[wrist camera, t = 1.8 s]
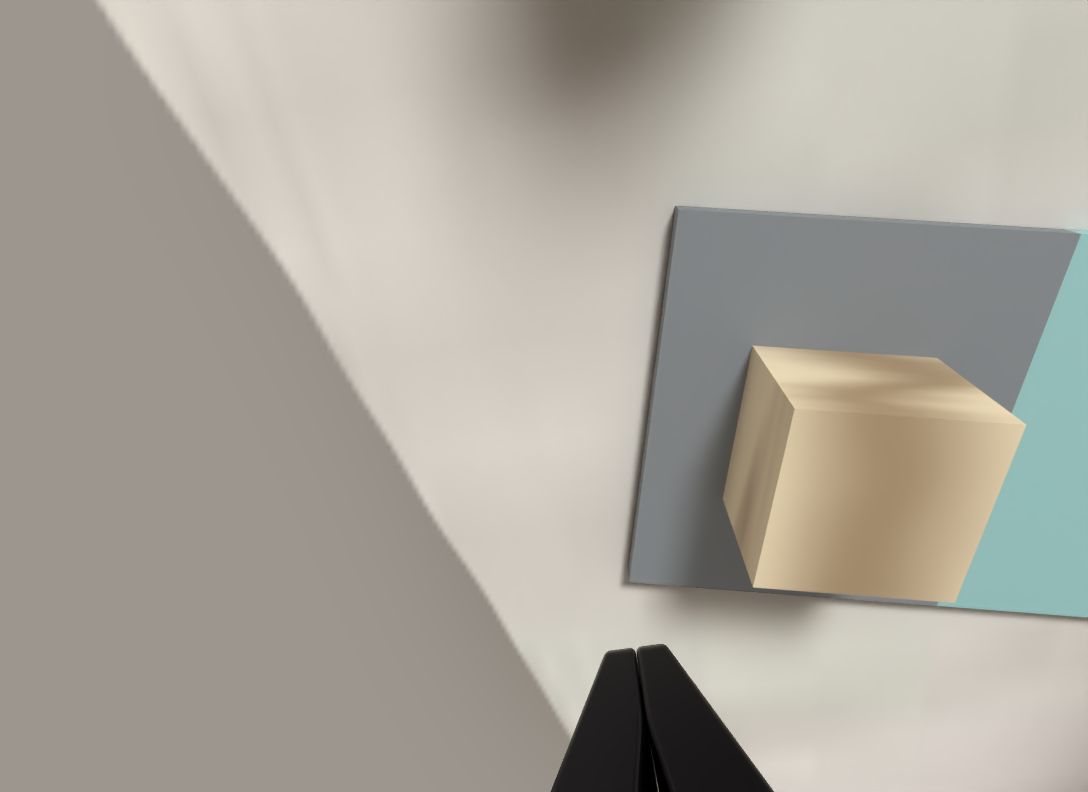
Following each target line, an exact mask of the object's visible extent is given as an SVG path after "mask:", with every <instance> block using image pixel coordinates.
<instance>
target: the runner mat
mask: <svg viewBox="0 0 1088 792" xmlns="http://www.w3.org/2000/svg"><path fill="white" fill-rule="evenodd" d="M752 346H765V347H780V348H795V349H810V350H825V351H840V352H855V353H870V354H885V355H900V356H915V357H930V358H938V359H939V360H941V361H942V362H943V363H945V364H946V365H947V366H949V367H950V368H951V369H953V370H954V371H955V372H957V373H958V374H959V375H961V376H962V377H963V378H965V379H966V380H967V381H969V382H970V383H971V384H973V385H974V386H975V387H977V388H978V389H979V390H981V391H982V392H983V393H985V394H986V395H987V396H989V397H990V398H991V399H993V400H994V401H995V402H997V403H998V404H999V405H1001V406H1002V407H1003V408H1005V409H1006V410H1007V411H1009V412H1010V413H1011V414H1013V415H1014V416H1015V417H1017V418H1018V419H1019V420H1021V421H1022V422H1024V423H1025V424H1026V428H1025V430H1024V432H1023V435H1022V437H1021V440H1020V442H1019V445H1018V447H1017V450H1016V452H1015V455H1014V457H1013V460H1012V462H1011V465H1010V467H1009V470H1008V472H1007V475H1006V477H1005V480H1004V482H1003V485H1002V487H1001V490H1000V492H999V495H998V497H997V500H996V502H995V505H994V507H993V510H992V512H991V514H990V517H989V519H988V522H987V524H986V527H985V529H984V532H983V534H982V537H981V539H980V542H979V544H978V547H977V549H976V552H975V554H974V557H973V559H972V562H971V564H970V567H969V569H968V572H967V574H966V577H965V579H964V582H963V584H962V587H961V589H960V592H959V594H958V596H957V599H956V601H955V603H948V602H935V601H922V600H909V599H896V598H884V597H871V596H858V595H845V594H832V593H819V592H806V591H793V590H780V589H767V588H754V587H753V586H752V583H751V580H750V577H749V574H748V571H747V569H746V566H745V563H744V560H743V557H742V554H741V551H740V548H739V545H738V542H737V539H736V536H735V533H734V530H733V527H732V525H731V522H730V519H729V516H728V513H727V510H726V507H725V504H724V501H723V494H724V489H725V484H726V479H727V474H728V469H729V464H730V459H731V453H732V448H733V443H734V438H735V433H736V428H737V423H738V418H739V412H740V407H741V402H742V397H743V392H744V387H745V382H746V377H747V371H748V366H749V361H750V356H751V351H752ZM628 575H629V582H632V583H644V584H657V585H670V586H683V587H696V588H709V589H722V590H735V591H747V592H760V593H773V594H786V595H799V596H812V597H825V598H838V599H850V600H863V601H876V602H889V603H902V604H915V605H928V606H946V607H959V608H972V609H984V610H997V611H1010V612H1023V613H1036V614H1049V615H1062V616H1075V617H1088V231H1082V230H1065V229H1049V228H1032V227H1016V226H999V225H983V224H966V223H950V222H933V221H917V220H900V219H884V218H867V217H850V216H834V215H817V214H801V213H784V212H768V211H751V210H735V209H718V208H702V207H685V206H676V207H675V215H674V222H673V230H672V238H671V245H670V253H669V261H668V268H667V276H666V284H665V291H664V299H663V307H662V314H661V322H660V330H659V337H658V345H657V353H656V360H655V368H654V375H653V383H652V391H651V398H650V406H649V414H648V421H647V429H646V437H645V444H644V452H643V460H642V467H641V475H640V483H639V490H638V498H637V506H636V513H635V521H634V529H633V536H632V544H631V552H630V559H629V567H628Z"/></svg>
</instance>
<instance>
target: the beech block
mask: <svg viewBox="0 0 1088 792" xmlns="http://www.w3.org/2000/svg"><path fill="white" fill-rule="evenodd" d="M1025 428H1026V424H1025V423H1024V422H1022V421H1021V420H1019V419H1018V418H1017V417H1015V416H1014V415H1013V414H1011V413H1010V412H1009V411H1007V410H1006V409H1005V408H1003V407H1002V406H1001V405H999V404H998V403H997V402H995V401H994V400H993V399H991V398H990V397H989V396H987V395H986V394H985V393H983V392H982V391H981V390H979V389H978V388H977V387H975V386H974V385H973V384H971V383H970V382H969V381H967V380H966V379H965V378H963V377H962V376H961V375H959V374H958V373H957V372H955V371H954V370H953V369H951V368H950V367H949V366H947V365H946V364H945V363H943V362H942V361H941V360H939V359H938V358H930V357H915V356H900V355H885V354H870V353H855V352H840V351H825V350H810V349H795V348H780V347H765V346H752V351H751V356H750V361H749V366H748V371H747V377H746V382H745V387H744V392H743V397H742V402H741V407H740V412H739V418H738V423H737V428H736V433H735V438H734V443H733V448H732V453H731V459H730V464H729V469H728V474H727V479H726V484H725V489H724V494H723V501H724V504H725V507H726V510H727V513H728V516H729V519H730V522H731V525H732V527H733V530H734V533H735V536H736V539H737V542H738V545H739V548H740V551H741V554H742V557H743V560H744V563H745V566H746V569H747V571H748V574H749V577H750V580H751V583H752V586H753V587H754V588H767V589H780V590H793V591H806V592H819V593H832V594H845V595H858V596H871V597H884V598H896V599H909V600H922V601H935V602H948V603H955V601H956V599H957V596H958V594H959V592H960V589H961V587H962V584H963V582H964V579H965V577H966V574H967V572H968V569H969V567H970V564H971V562H972V559H973V557H974V554H975V552H976V549H977V547H978V544H979V542H980V539H981V537H982V534H983V532H984V529H985V527H986V524H987V522H988V519H989V517H990V514H991V512H992V510H993V507H994V505H995V502H996V500H997V497H998V495H999V492H1000V490H1001V487H1002V485H1003V482H1004V480H1005V477H1006V475H1007V472H1008V470H1009V467H1010V465H1011V462H1012V460H1013V457H1014V455H1015V452H1016V450H1017V447H1018V445H1019V442H1020V440H1021V437H1022V435H1023V432H1024V430H1025Z"/></svg>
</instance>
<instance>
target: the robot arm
mask: <svg viewBox="0 0 1088 792" xmlns="http://www.w3.org/2000/svg"><path fill="white" fill-rule="evenodd" d="M637 660H638V662H637ZM656 778H657V779H656ZM657 783H658V785H657ZM658 788H659V792H774V791H773V790H772V788H771V787H770V785H769V784H768V783H767V781H766V780H765V779H764V777H763V776H762V775H761V773H760V772H759V771H758V769H757V768H756V766H755V765H754V764H753V762H752V761H751V760H750V758H749V757H748V756H747V754H746V753H745V752H744V750H743V749H742V747H741V746H740V745H739V743H738V742H737V741H736V739H735V738H734V737H733V735H732V734H731V732H730V731H729V730H728V728H727V727H726V726H725V724H724V723H723V722H722V720H721V719H720V718H719V716H718V715H717V713H716V712H715V711H714V709H713V708H712V707H711V705H710V704H709V703H708V701H707V700H706V698H705V697H704V696H703V694H702V693H701V692H700V690H699V689H698V688H697V686H696V685H695V684H694V682H693V681H692V679H691V678H690V677H689V675H688V674H687V673H686V671H685V670H684V669H683V667H682V666H681V665H680V663H679V662H678V660H677V659H676V658H675V656H674V655H673V654H672V652H671V651H670V650H669V648H668V647H667V646H666V645H664V644H657V645H649V646H642V647H639V648H638V649H637V656H636V652H635V651H634V649H632V648H626V649H619V650H611V651H608V652H607V653H606V654H605V655H604V657H603V660H602V662H601V665H600V667H599V670H598V672H597V675H596V678H595V680H594V683H593V685H592V688H591V690H590V693H589V695H588V698H587V701H586V703H585V706H584V708H583V711H582V713H581V716H580V718H579V721H578V723H577V726H576V729H575V731H574V734H573V736H572V739H571V741H570V744H569V747H568V749H567V752H566V754H565V757H564V759H563V762H562V764H561V767H560V769H559V772H558V774H557V777H556V780H555V782H554V785H553V787H552V790H551V792H658Z"/></svg>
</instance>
